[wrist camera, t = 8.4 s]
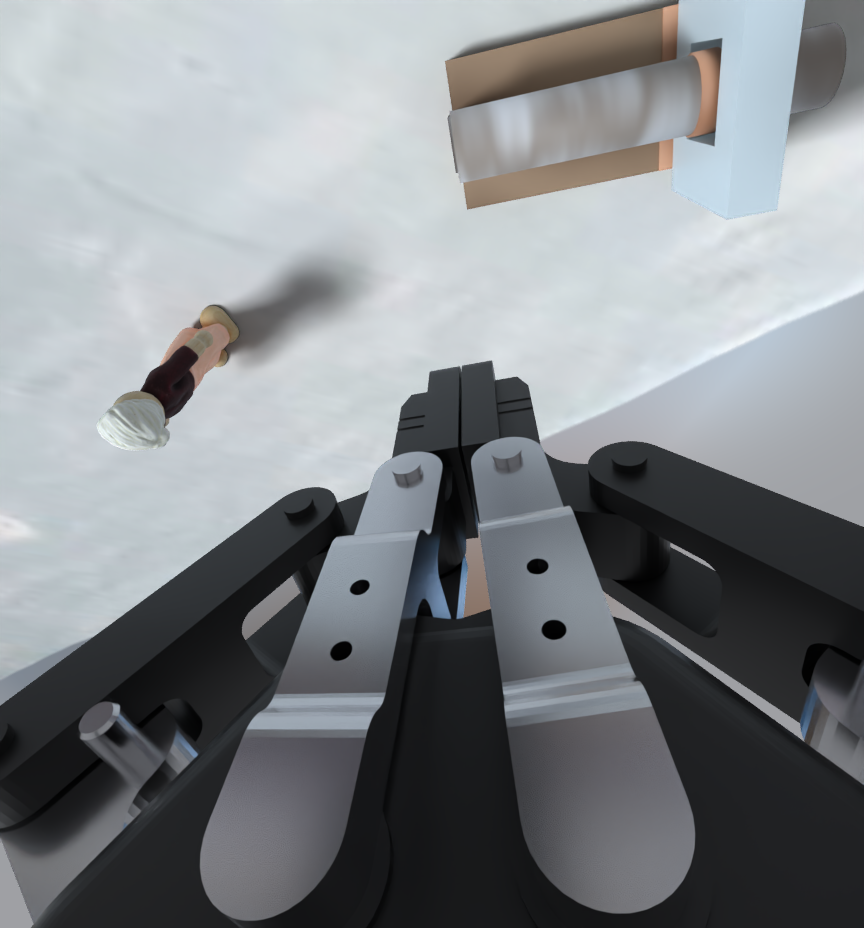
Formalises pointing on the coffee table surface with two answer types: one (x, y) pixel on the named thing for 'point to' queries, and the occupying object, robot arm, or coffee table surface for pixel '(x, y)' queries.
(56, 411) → the coffee table surface
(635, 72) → the pipe stand
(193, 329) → the grandmother figurine
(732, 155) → the square plate with hole
